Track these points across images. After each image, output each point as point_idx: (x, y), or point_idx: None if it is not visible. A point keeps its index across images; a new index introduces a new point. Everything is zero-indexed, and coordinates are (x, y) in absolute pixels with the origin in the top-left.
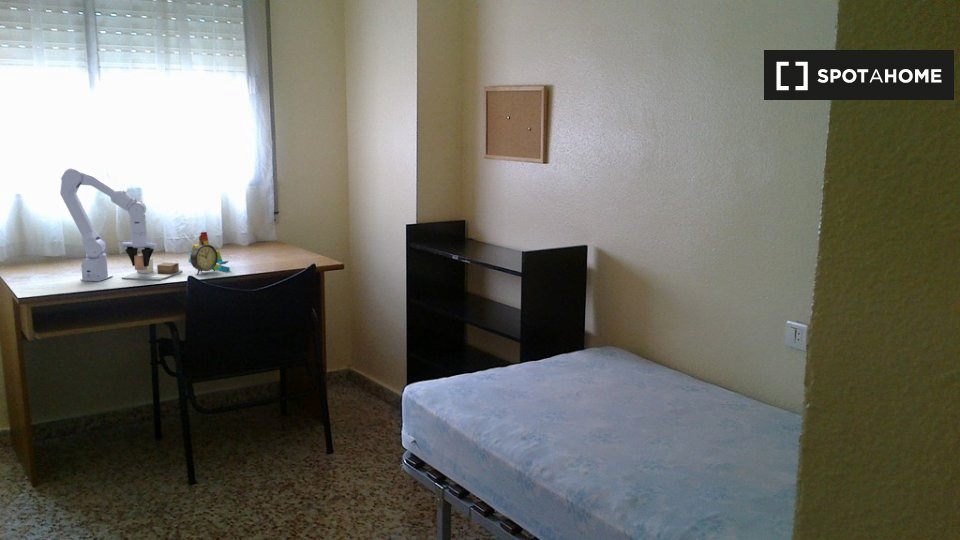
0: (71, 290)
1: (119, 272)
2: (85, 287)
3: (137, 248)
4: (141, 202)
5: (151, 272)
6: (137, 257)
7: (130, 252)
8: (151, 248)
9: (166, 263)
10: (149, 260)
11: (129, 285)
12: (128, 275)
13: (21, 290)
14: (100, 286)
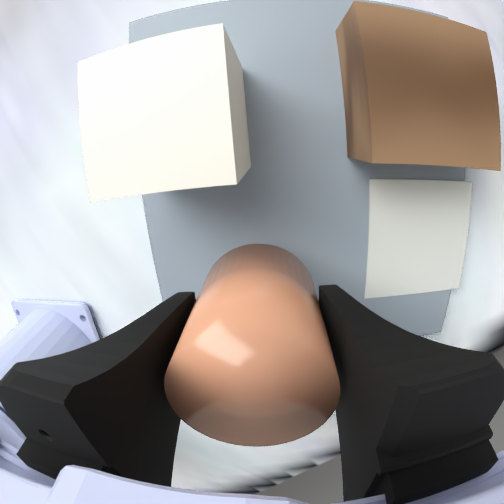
0: (172, 485)
1: (27, 169)
2: (175, 466)
3: (85, 394)
4: None
5: (264, 125)
6: (264, 436)
7: (163, 480)
8: (483, 471)
9: (410, 53)
10: (362, 305)
11: (324, 435)
12: (165, 287)
13: None
14: (212, 458)
